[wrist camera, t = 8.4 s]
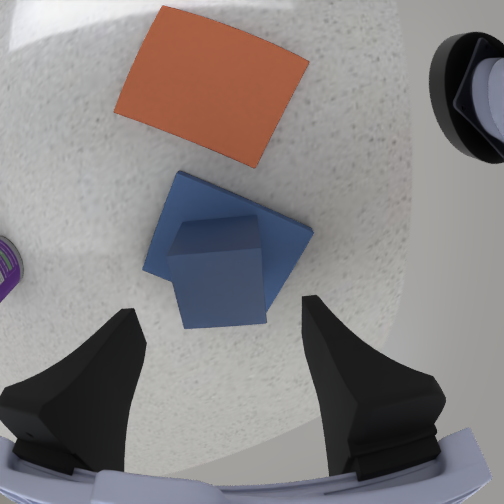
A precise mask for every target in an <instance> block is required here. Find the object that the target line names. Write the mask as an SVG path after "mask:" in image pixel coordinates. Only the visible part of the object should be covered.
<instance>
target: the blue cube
mask: <svg viewBox="0 0 504 504" xmlns="http://www.w3.org/2000/svg"><path fill="white" fill-rule="evenodd" d="M166 257H167V262H168V266H169V270H170V274H171V279H172V283H173V287H174V291H175V295H176V299H177V303H178V307H179V311H180V315H181V318H182V322H183V326H184V329H193V328H211V327H227V326H241V325H253V324H265V323H267V318H266V304H265V291H264V278H263V265H262V252H261V243H260V235H259V227H258V220H257V215H250V216H239V217H228V218H218V219H208V220H198V221H188V222H182V224H181V226H180V228H179V230H178V232H177V234H176V236H175V239H174V241H173V243H172V245H171V247H170V249H169V251H168V254H167V256H166Z"/></svg>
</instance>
